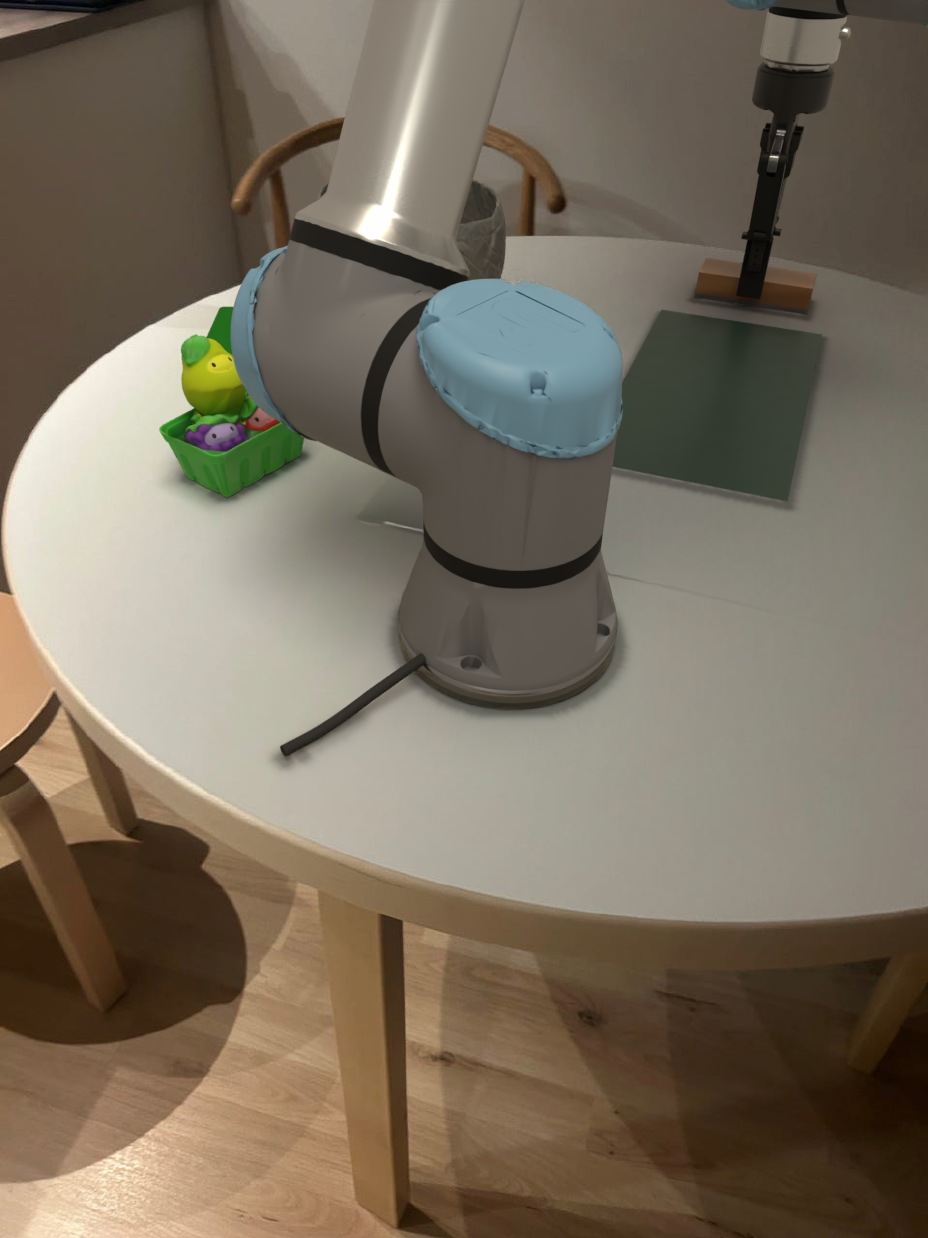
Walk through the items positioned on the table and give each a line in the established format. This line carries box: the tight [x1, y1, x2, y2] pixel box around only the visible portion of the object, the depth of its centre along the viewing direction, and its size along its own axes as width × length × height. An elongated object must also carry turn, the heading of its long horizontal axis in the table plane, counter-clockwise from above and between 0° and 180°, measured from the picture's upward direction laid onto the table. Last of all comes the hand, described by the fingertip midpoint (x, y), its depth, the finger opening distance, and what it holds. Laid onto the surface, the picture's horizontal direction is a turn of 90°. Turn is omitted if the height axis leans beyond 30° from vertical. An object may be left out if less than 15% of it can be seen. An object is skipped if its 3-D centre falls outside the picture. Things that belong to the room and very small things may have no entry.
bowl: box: [314, 178, 507, 281], centre depth 101 cm, size 20×20×15 cm
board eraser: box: [694, 257, 818, 315], centre depth 113 cm, size 5×13×4 cm, turn 69°
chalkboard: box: [612, 309, 823, 502], centre depth 96 cm, size 36×18×1 cm, turn 160°
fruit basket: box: [158, 333, 305, 498], centre depth 81 cm, size 11×9×11 cm
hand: (748, 294), depth 111 cm, fingers closed
